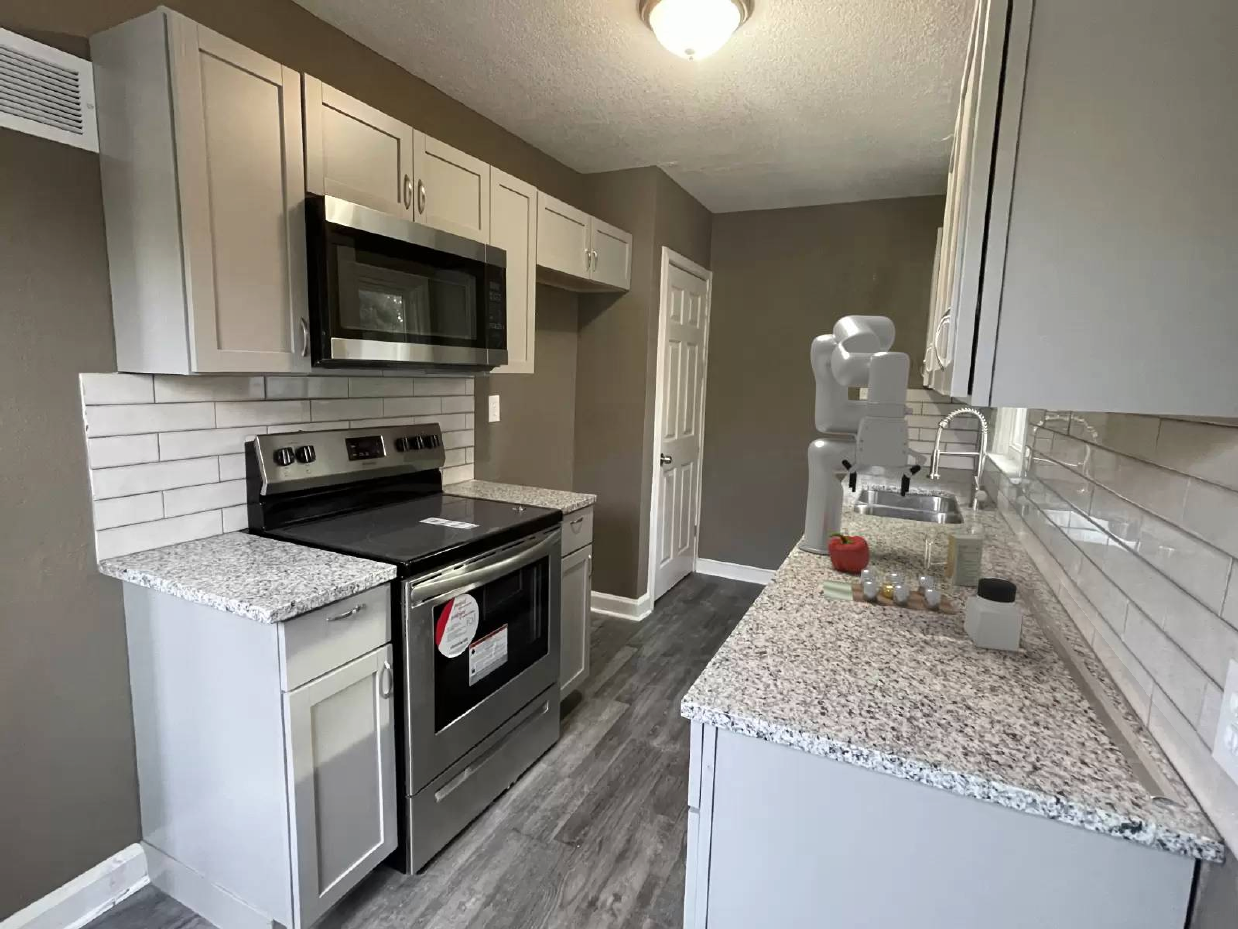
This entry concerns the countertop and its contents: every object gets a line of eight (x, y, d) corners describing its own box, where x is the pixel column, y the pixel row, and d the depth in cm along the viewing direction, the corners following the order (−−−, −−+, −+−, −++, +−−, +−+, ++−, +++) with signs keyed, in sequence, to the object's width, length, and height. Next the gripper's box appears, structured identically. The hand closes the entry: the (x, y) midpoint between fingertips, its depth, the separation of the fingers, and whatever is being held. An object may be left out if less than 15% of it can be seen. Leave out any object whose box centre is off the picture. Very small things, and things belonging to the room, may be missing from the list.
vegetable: (834, 578, 152) (838, 538, 150) (816, 565, 162) (819, 527, 160) (877, 578, 153) (881, 538, 152) (855, 565, 163) (859, 528, 162)
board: (823, 582, 148) (823, 579, 148) (944, 598, 140) (945, 594, 140) (823, 600, 135) (823, 596, 135) (956, 618, 128) (957, 614, 128)
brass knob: (880, 592, 140) (881, 581, 140) (902, 595, 139) (903, 583, 138) (882, 598, 136) (883, 587, 135) (905, 601, 134) (906, 590, 134)
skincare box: (970, 583, 151) (976, 534, 150) (979, 589, 147) (985, 539, 146) (943, 581, 152) (948, 532, 150) (950, 587, 148) (956, 537, 146)
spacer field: (859, 584, 145) (861, 567, 144) (930, 593, 140) (932, 576, 140) (863, 601, 133) (864, 583, 133) (940, 611, 129) (942, 593, 128)
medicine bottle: (1019, 652, 112) (1027, 588, 110) (975, 647, 113) (983, 584, 112) (1003, 637, 119) (1011, 576, 117) (962, 632, 120) (969, 572, 119)
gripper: (928, 414, 131) (920, 495, 133) (841, 410, 136) (834, 487, 138) (933, 415, 124) (925, 500, 126) (841, 410, 129) (834, 492, 131)
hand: (877, 493), depth 132 cm, fingers open, 9 cm apart
